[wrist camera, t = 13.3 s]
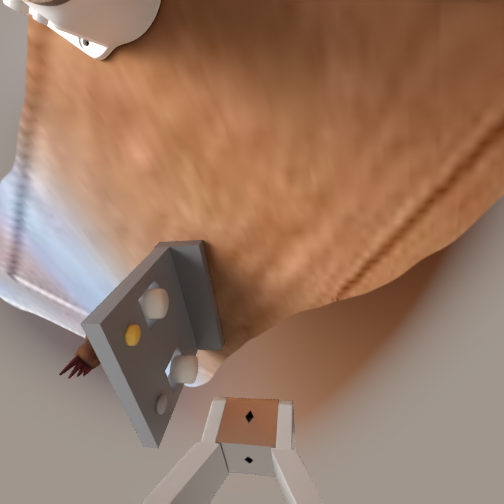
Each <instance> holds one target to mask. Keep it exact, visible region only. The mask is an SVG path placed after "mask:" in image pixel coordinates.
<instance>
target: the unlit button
mask: <svg viewBox="0 0 504 504" xmlns="http://www.w3.org/2000/svg"><path fill="white" fill-rule="evenodd" d="M197 373H198V359H197V357H196V356H191V355H176V356H175V357H174V358H173V360H172V363H171V366H170V379H171V381H172V382H173V383H188V384H192V383H194V381H195V380H196V377H197Z"/></svg>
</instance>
